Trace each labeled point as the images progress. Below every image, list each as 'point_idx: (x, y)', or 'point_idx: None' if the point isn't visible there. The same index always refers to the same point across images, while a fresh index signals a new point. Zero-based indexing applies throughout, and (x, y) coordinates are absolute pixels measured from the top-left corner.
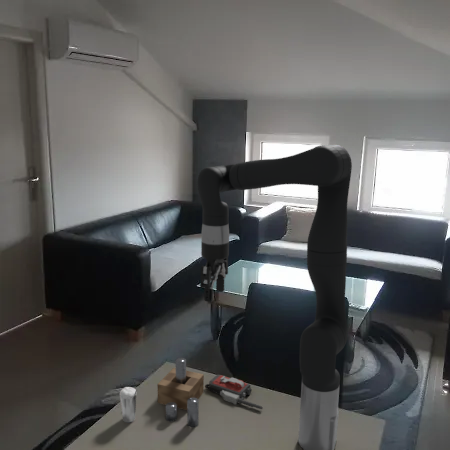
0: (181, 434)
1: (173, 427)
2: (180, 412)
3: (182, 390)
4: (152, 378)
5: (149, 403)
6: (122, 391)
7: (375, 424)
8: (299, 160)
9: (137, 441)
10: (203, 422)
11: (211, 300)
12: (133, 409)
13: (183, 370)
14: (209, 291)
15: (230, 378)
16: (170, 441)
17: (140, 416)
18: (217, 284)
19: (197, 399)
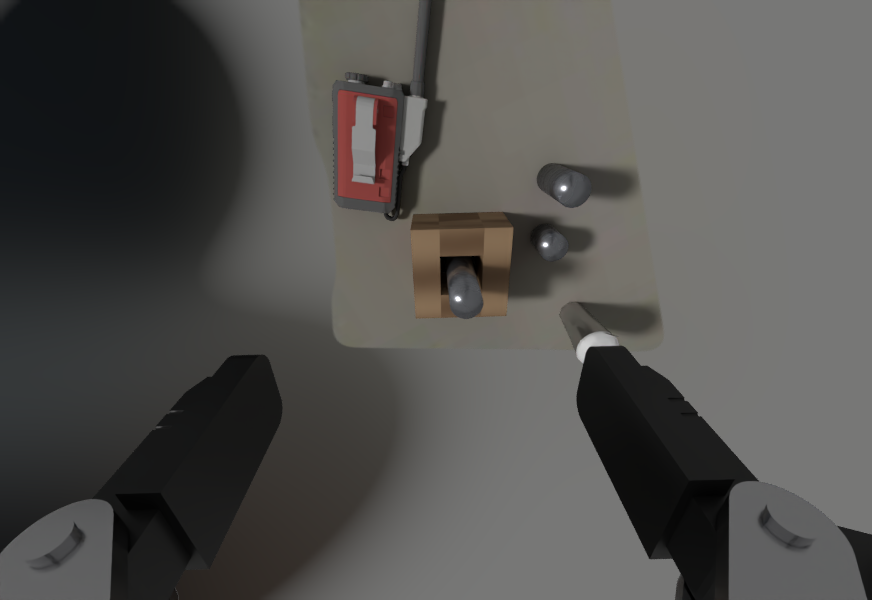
0: (597, 185)
1: (575, 215)
2: (515, 228)
3: (511, 247)
4: (412, 346)
5: None
6: None
7: None
8: None
9: (638, 261)
10: (537, 154)
11: (626, 351)
12: (588, 315)
13: (473, 279)
14: (744, 467)
15: (356, 153)
16: (627, 196)
17: (555, 298)
18: (245, 470)
19: (565, 180)
